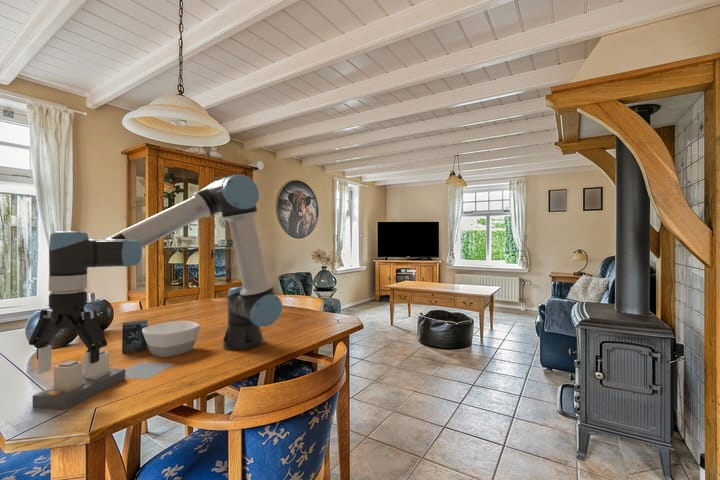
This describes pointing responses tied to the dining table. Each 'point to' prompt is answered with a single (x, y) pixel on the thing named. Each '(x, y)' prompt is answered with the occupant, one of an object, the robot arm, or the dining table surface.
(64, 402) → the grey socket block
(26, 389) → the dining table surface
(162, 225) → the robot arm
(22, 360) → the dining table surface
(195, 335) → the bowl
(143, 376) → the tray
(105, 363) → the plug
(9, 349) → the dining table surface
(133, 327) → the box
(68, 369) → the twin plug
